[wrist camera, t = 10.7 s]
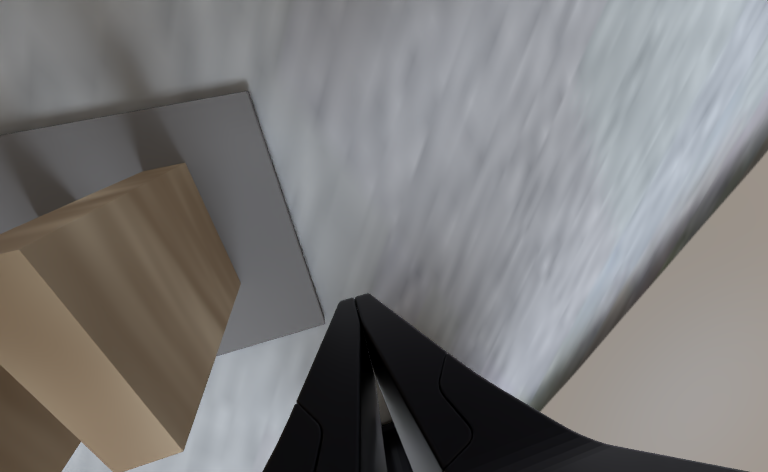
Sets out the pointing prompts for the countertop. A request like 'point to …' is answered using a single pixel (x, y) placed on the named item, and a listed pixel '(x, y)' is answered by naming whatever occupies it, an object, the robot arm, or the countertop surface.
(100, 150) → the slate mat
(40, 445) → the domino
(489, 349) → the countertop surface
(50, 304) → the domino
